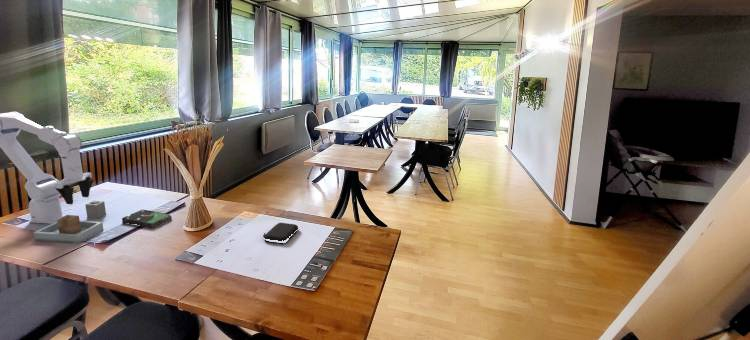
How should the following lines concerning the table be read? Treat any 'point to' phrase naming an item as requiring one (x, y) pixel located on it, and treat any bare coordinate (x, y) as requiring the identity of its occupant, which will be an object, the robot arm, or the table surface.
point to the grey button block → (95, 209)
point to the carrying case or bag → (281, 231)
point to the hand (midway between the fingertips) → (77, 200)
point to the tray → (53, 234)
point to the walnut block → (69, 224)
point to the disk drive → (147, 218)
